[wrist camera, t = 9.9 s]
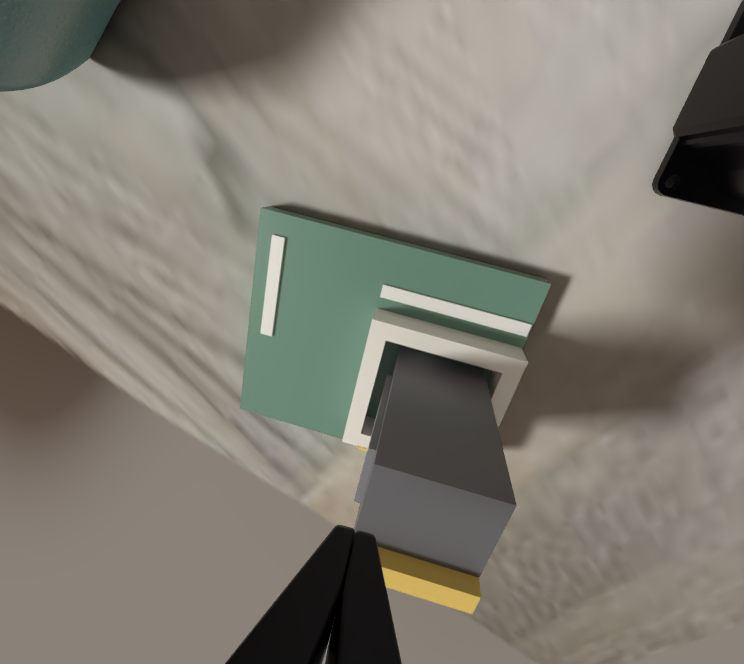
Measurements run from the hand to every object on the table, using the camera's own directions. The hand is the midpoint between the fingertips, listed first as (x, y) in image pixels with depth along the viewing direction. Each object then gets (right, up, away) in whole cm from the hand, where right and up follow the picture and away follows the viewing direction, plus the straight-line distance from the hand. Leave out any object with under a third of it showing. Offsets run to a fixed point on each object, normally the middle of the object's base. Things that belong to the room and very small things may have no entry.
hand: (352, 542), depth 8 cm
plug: (+3, +1, +10) cm, 11 cm away
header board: (+1, +4, +11) cm, 12 cm away
